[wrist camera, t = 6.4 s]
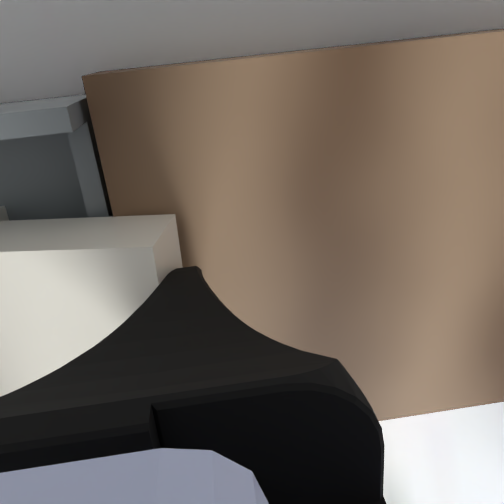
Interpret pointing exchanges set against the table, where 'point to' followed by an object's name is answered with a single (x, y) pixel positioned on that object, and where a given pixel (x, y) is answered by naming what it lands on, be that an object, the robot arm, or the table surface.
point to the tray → (50, 161)
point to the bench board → (334, 201)
